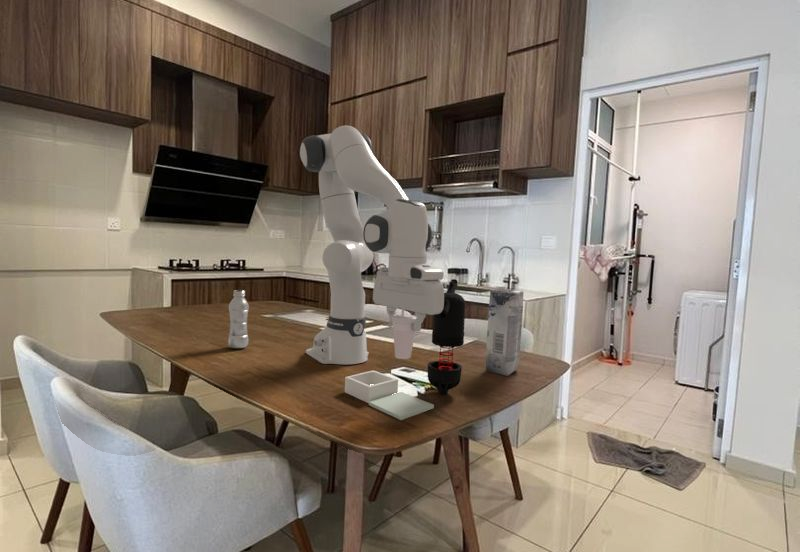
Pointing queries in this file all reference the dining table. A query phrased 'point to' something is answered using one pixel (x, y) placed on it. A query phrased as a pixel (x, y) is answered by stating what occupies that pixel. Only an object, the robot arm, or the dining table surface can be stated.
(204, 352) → the dining table surface
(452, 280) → the filter
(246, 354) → the dining table surface
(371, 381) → the shallow white tray
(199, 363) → the dining table surface
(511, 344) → the juice carton
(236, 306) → the plastic bottle
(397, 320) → the smoothie
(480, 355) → the dining table surface
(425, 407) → the coaster
